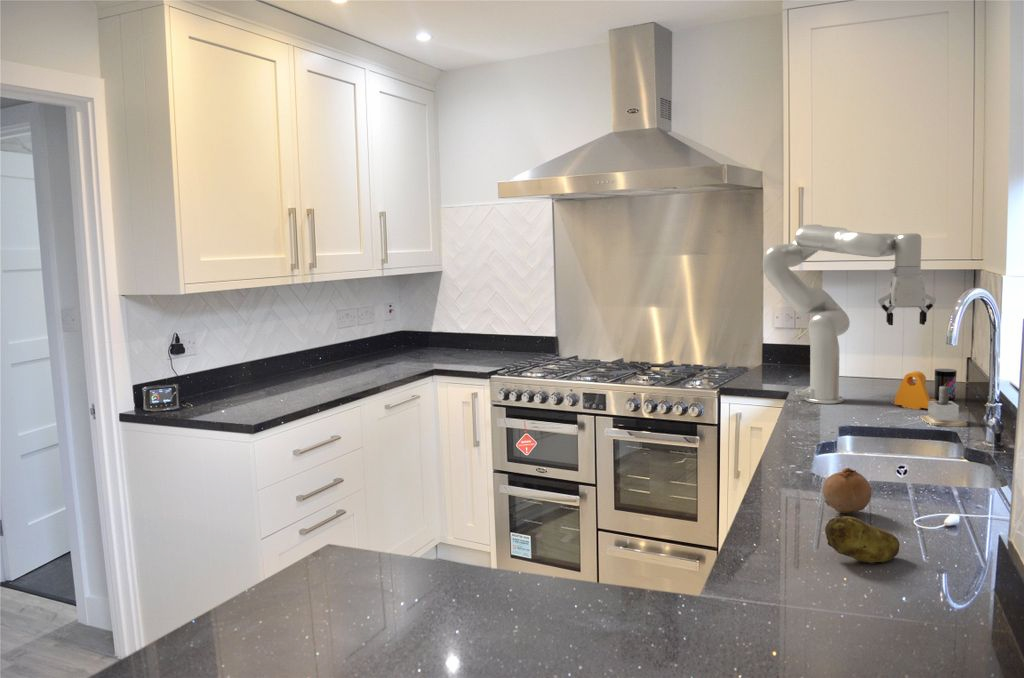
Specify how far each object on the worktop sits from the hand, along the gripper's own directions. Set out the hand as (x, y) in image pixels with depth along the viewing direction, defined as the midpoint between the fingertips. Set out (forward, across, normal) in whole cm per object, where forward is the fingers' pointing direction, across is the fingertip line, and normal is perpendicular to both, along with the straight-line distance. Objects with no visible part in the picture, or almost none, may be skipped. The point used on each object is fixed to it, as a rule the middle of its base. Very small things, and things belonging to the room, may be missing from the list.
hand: (906, 324), depth 258 cm
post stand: (+28, +6, -18) cm, 34 cm away
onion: (+28, -41, -104) cm, 115 cm away
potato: (+29, -44, -129) cm, 139 cm away
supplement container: (+28, +18, +17) cm, 38 cm away
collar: (+27, +6, -18) cm, 33 cm away
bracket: (+29, +5, +5) cm, 29 cm away
